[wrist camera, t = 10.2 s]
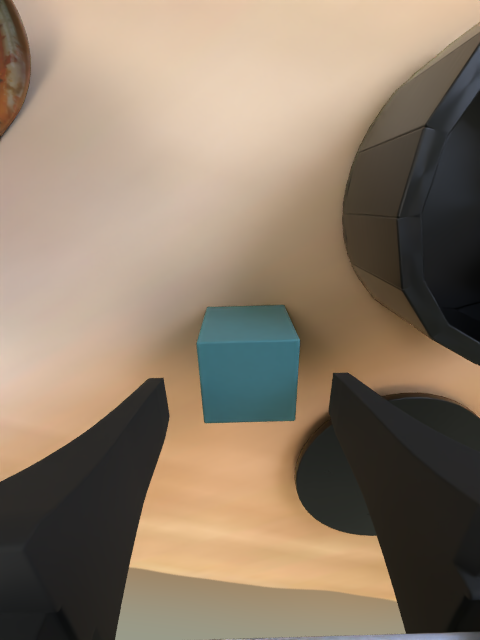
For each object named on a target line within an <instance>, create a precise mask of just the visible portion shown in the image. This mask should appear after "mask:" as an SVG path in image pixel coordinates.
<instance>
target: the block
mask: <svg viewBox="0 0 480 640" xmlns="http://www.w3.org/2000/svg"><path fill="white" fill-rule="evenodd" d="M196 345H197V355H198V365H199V375H200V385H201V395H202V405H203V415H204V422H205V423H230V422H267V421H294V420H295V415H296V399H297V383H298V367H299V352H300V339H299V337H298V335H297V332H296V330H295V328H294V326H293V324H292V321H291V319H290V317H289V315H288V312H287V310H286V308H285V306H284V305H263V306H229V307H207V309H206V312H205V316H204V319H203V323H202V326H201V329H200V333H199V336H198V340H197V343H196Z"/></svg>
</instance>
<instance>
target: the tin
mask: <svg viewBox="0 0 480 640" xmlns="http://www.w3.org/2000/svg"><path fill="white" fill-rule="evenodd" d="M30 75H31V57H30V49H29V43H28V39H27V35H26V32H25V29H24V26H23V23H22V20H21V18H20V15H19V13H18V11H17V9H16V7H15V5H14V3H13V1H12V0H0V137H1V136H2V134H3V133H4V132H5V130H6V129H7V128H8V126H9V125H10V124H11V123H12V121H13V120H14V118H15V117H16V116H17V114H18V112H19V111H20V109H21V107H22V105H23V103H24V100H25V97H26V94H27V90H28V87H29V81H30Z"/></svg>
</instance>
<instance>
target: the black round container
mask: <svg viewBox="0 0 480 640" xmlns="http://www.w3.org/2000/svg"><path fill="white" fill-rule="evenodd" d="M343 234H344V241H345V245H346V250H347V254H348V257H349V259H350V262H351V265H352V267H353V269H354V271H355V273H356V274H357V276H358V278H359V280H360V281H361V282H362V283H363V285H364V286H365V287H366V289H367V290H368V291H369V292H370V294H371V295H372V297H373V298H375V300H377V301H378V302H380V303H381V304H382V305H384V306H385V307H387V308H388V309H390V310H391V311H392V312H394V313H395V314H397V315H398V316H399V317H401V318H402V319H404V320H405V321H407V322H408V323H409V324H411V325H412V326H414V327H415V328H416V329H418V330H419V331H421V332H422V333H424V334H425V335H426V336H428V337H429V338H431V339H432V340H434V341H436V342H437V343H439V344H441V345H443V346H444V347H446V348H448V349H450V350H451V351H453V352H455V353H457V354H459V355H460V356H462V357H464V358H466V359H467V360H469V361H471V362H473V363H474V364H478V365H479V366H480V22H479V23H478V24H477V25H475V26H474V27H473V28H471V29H470V30H469V31H467V32H466V33H464V34H463V35H462V36H460V37H459V38H458V39H456V40H455V41H454V42H452V43H451V44H450V45H449V46H447V47H446V48H445V49H444V50H443V51H442V52H440V53H439V54H438V55H437V56H436V57H435V58H433V59H432V60H431V61H430V62H429V63H428V64H426V65H425V66H424V67H423V68H421V69H420V70H419V71H417V72H416V73H415V74H414V75H413V76H412V77H411V78H410V79H409V80H408V81H407V82H405V83H404V84H403V85H402V86H401V87H400V88H398V89H397V90H396V91H395V93H393V95H392V96H391V98H390V99H389V101H388V102H387V104H386V105H385V106H384V107H383V109H382V110H381V111H380V113H379V114H378V116H377V117H376V119H375V120H374V122H373V123H372V125H371V126H370V128H369V130H368V132H367V134H366V135H365V137H364V139H363V141H362V143H361V145H360V147H359V149H358V152H357V154H356V157H355V159H354V162H353V164H352V167H351V171H350V174H349V177H348V181H347V184H346V190H345V196H344V202H343Z"/></svg>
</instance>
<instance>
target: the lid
mask: <svg viewBox="0 0 480 640" xmlns="http://www.w3.org/2000/svg"><path fill="white" fill-rule="evenodd" d="M382 397H383V398H384V399H385V400H387V401H388V402H390V403H391V404H393V405H394V406H396V407H397V408H399V409H400V410H402V411H403V412H405V413H407V414H408V415H410V416H411V417H413V418H415V419H416V420H418V421H420V422H421V423H423V424H425V425H427V426H428V427H430V428H432V429H434V430H436V431H438V432H439V433H441V434H443V435H445V436H447V437H449V438H451V439H453V440H455V441H457V442H459V443H461V444H463V445H466V446H468V447H470V448H472V449H474V450H476V451H478V452H480V418H479V417H478V416H477V415H476V414H474V413H473V412H472V411H471V410H469V409H468V408H467V407H465V406H464V405H462V404H460V403H458V402H456V401H454V400H451V399H448V398H445V397H442V396H437V395H432V394H423V393H400V394H392V395H386V396H382ZM295 484H296V489H297V493H298V496H299V499H300V501H301V503H302V505H303V506H304V507H305V509H306V510H307V511H308V513H310V514H311V515H312V516H313V517H314V518H315V519H316V520H318V521H319V522H321V523H322V524H324V525H326V526H328V527H330V528H333V529H336V530H338V531H342V532H346V533H350V534H356V535H368V536H377V535H376V531H375V528H374V525H373V522H372V520H371V517H370V514H369V511H368V508H367V505H366V502H365V499H364V497H363V494H362V492H361V489H360V487H359V485H358V482H357V480H356V478H355V476H354V474H353V471H352V469H351V467H350V465H349V463H348V461H347V458H346V456H345V454H344V452H343V450H342V447H341V445H340V443H339V441H338V438H337V436H336V434H335V431H334V428H333V425H332V421H331V419H330V420H328V421H327V422H326V423H324V424H323V425H322V426H321V427H320V428H319V429H318V430H317V431H316V432H315V433H314V434H313V435H312V436H311V437H310V439H309V440H308V441H307V443H306V444H305V446H304V447H303V449H302V451H301V453H300V455H299V458H298V461H297V464H296V468H295Z"/></svg>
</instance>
